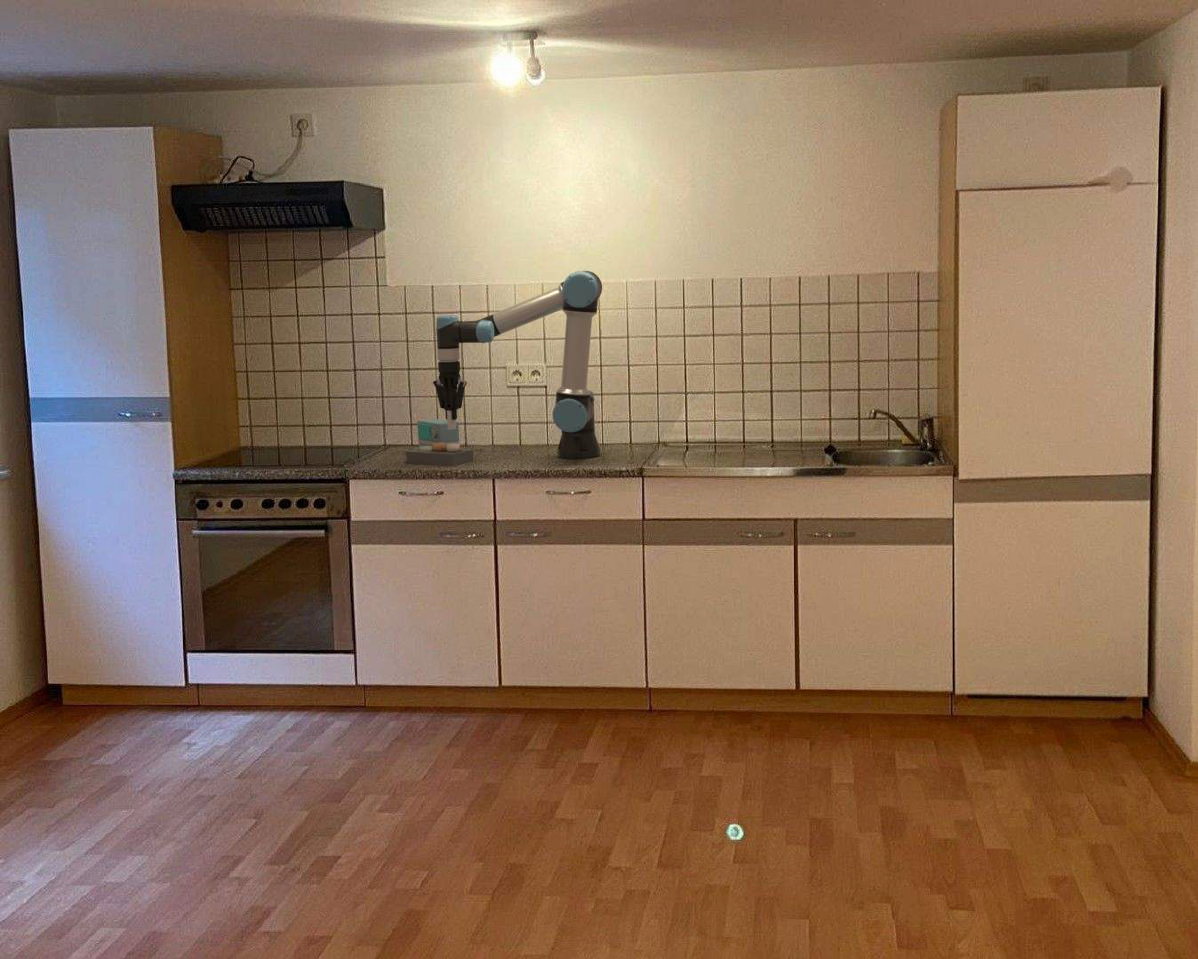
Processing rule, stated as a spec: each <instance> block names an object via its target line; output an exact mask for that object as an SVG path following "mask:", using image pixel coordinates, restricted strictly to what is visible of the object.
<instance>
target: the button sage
mask: <svg viewBox="0 0 1198 959" xmlns="http://www.w3.org/2000/svg"><path fill="white" fill-rule="evenodd" d="M418 449H419V450H420V451H429V450H432V446H421V447H419V446H418Z"/></svg>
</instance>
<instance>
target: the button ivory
mask: <svg viewBox="0 0 1198 959" xmlns="http://www.w3.org/2000/svg"><path fill="white" fill-rule="evenodd" d="M460 449H461V446H460V442H459V443H451V444H447V452H459V451H460Z"/></svg>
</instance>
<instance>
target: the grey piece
mask: <svg viewBox="0 0 1198 959" xmlns="http://www.w3.org/2000/svg"><path fill="white" fill-rule="evenodd" d="M405 455H406V456H405V459H406V463H407V462H408V463H407V464H417V465H418V464H419V465H431V466H433V465H434V466H435V465H437V466H447V467H448V466H449V467H454V466H458V465H462V464H466V463H470V462H474V460H475V459H474V449H472V448H471V449H470V448H460V451H459V452H447V448H446V451H433V447H432V450H429V451H420V450H419V448H415V449H412V450H407V451H405Z"/></svg>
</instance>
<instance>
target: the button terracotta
mask: <svg viewBox="0 0 1198 959" xmlns="http://www.w3.org/2000/svg"><path fill="white" fill-rule="evenodd" d="M433 451H446V443H433Z"/></svg>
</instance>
